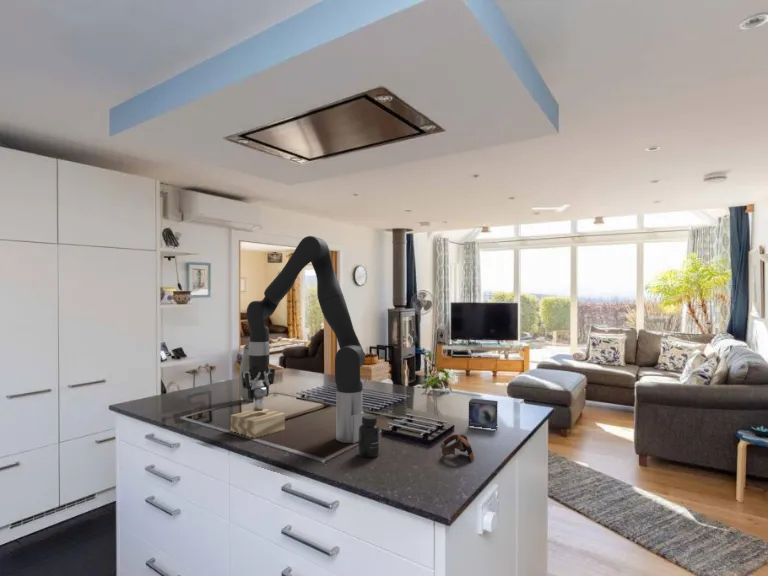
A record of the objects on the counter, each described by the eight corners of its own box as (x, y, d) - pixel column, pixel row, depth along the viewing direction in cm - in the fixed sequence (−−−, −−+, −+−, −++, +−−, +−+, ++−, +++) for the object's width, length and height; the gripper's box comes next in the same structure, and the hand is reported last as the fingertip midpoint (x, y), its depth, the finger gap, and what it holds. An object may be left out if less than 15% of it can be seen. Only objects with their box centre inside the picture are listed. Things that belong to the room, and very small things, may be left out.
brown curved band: (473, 467, 130) (459, 444, 130) (447, 475, 135) (433, 452, 134) (480, 445, 141) (467, 423, 141) (455, 453, 145) (443, 432, 145)
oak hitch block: (284, 429, 165) (284, 413, 165) (254, 438, 153) (254, 421, 153) (260, 422, 173) (261, 407, 173) (230, 431, 161) (230, 415, 162)
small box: (467, 428, 168) (467, 401, 168) (471, 424, 174) (471, 397, 174) (495, 431, 164) (495, 404, 164) (497, 427, 170) (497, 400, 170)
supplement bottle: (376, 459, 135) (377, 420, 135) (355, 457, 136) (356, 419, 136) (381, 451, 141) (381, 414, 142) (361, 450, 143) (361, 413, 143)
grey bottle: (235, 401, 208) (236, 343, 209) (252, 397, 217) (253, 341, 217) (248, 404, 203) (249, 344, 203) (265, 400, 211) (266, 342, 212)
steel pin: (269, 409, 164) (270, 387, 164) (256, 413, 159) (257, 389, 159) (259, 407, 167) (259, 385, 168) (246, 410, 163) (246, 387, 163)
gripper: (249, 356, 156) (248, 403, 155) (280, 352, 167) (279, 395, 167) (236, 354, 160) (236, 400, 160) (267, 350, 172) (267, 393, 171)
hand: (258, 397), depth 163 cm, fingers closed on steel pin, 6 cm apart
